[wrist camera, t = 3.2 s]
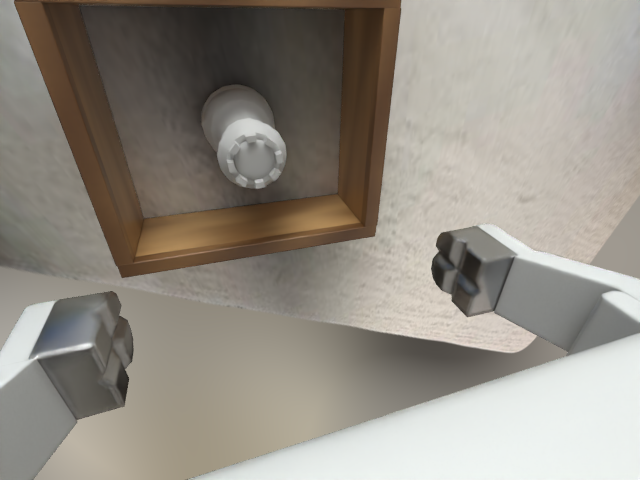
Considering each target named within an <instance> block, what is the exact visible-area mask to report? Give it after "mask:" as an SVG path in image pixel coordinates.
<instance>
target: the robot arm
mask: <svg viewBox="0 0 640 480" xmlns="http://www.w3.org/2000/svg"><path fill="white" fill-rule="evenodd" d="M436 247H437V249H438V250H439V252H438V253H437V254H436V256H435V257H434V258H433V261H432V267H431V270H432V275H433V279H434V281H435V283H436V285H437V286H438V287H439V288H440V289H441V290H442V291H444V292H447V293H449V294H452V302H453V303H454V304H455V305H456V306H457V307H458V308H459V309H460V310H461V311H462V312H463V313H464V314H465V315H466V316H467V317H471V316H475V315H479V314H484V313H488V312H493V311H494V313H496V314H498V315H499V316H501V317H503V318H505V319H507V320H509V321H511V322H513V323H515V324H516V325H518V326H520V327H522V328H524V329H526V330H528V331H530V332H532V333H533V334H535V335H537V336H539V337H541V338H543V339H545V340H547V341H549V342H551V343H552V344H554V345H556V346H558V347H560V348H562V349H564V350H566V351H567V352H568V353H567V355H566V357H563V358H560V359H557V360H554V361H551V362H548V363H544V364H541V365H539V366H535V367H532V368H529V369H527V370H523V371H520V372H517V373H514V374H511V375H508V376H505V377H501V378H498V379H495V380H492V381H489V382H486V383H483V384H480V385H477V386H474V387H471V388H468V389H465V390H461V391H459V392H455V393H453V394H449V395H446V396H443V397H440V398H437V399H434V400H431V401H428V402H425V403H422V404H419V405H415V406H413V407H409V408H406V409H403V410H400V411H397V412H394V413H391V414H388V415H385V416H381V417H378V418H375V419H372V420H369V421H366V422H363V423H360V424H357V425H354V426H351V427H348V428H344V429H341V430H338V431H335V432H332V433H329V434H326V435H323V436H320V437H317V438H314V439H311V440H308V441H304V442H301V443H298V444H295V445H292V446H289V447H286V448H283V449H280V450H277V451H274V452H270V453H268V454H264V455H261V456H258V457H255V458H252V459H249V460H246V461H243V462H240V463H236V464H233V465H231V466H227V467H224V468H221V469H218V470H215V471H212V472H209V473H206V474H203V475H199V476H196V477H193V478H190V479H187V480H640V279H638V278H634V277H631V276H627V275H624V274H620V273H617V272H613V271H610V270H606V269H603V268H599V267H596V266H592V265H589V264H585V263H582V262H578V261H574V260H571V259H567V258H564V257H560V256H557V255H553V254H550V253H546V252H543V251H537V252H535V251H534V250H532V249H531V248H529V247H528V246H526V245H525V244H523V243H522V242H520V241H519V240H517V239H516V238H514V237H513V236H511V235H509V234H508V233H506V232H505V231H503V230H502V229H500V228H499V227H497V226H496V225H494V224H490V223H486V224H481V225H476V226H472V227H469V228H464V229H459V230H453V231H448V232H443V233H441V234H440V235H439V237H438V239H437V243H436ZM120 309H121V303H120V301H119V299H118V296H117V294H116V293H114V292H113V291H110V292H104V293H97V294H91V295H85V296H78V297H72V298H66V299H60V300H54V301H48V302H43V303H37V304H32V305H30V306H28V307H26V308H25V309H24V311H23V313H22V314H21V316H20V318H19V319H18V321H17V323H16V325H15V326H14V328H13V330H12V332H11V333H10V335H9V337H8V338H7V340H6V342H5V344H4V346H3V347H2V349H1V351H0V480H33V479H34V478H35V477H36V475H37V474H38V473H39V471H40V470H41V469H42V468H43V466H44V465H45V464H46V462H47V461H48V460H49V459H50V457H51V456H52V455H53V453H54V452H55V451H56V449H57V448H58V447H59V445H60V444H61V443H62V442H63V440H64V439H65V438H66V436H67V435H68V434H69V432H70V431H71V430H72V429H73V427H74V426H75V425H76V423H77V420H78V419H82V418H85V417H89V416H92V415H95V414H99V413H102V412H106V411H109V410H113V409H116V408H120V407H124V405H125V399H126V394H127V388H128V382H129V377H128V375H127V373H126V371H125V369H126V368H127V366H128V365H129V364H130V363H131V362H132V357H133V337H132V332H131V328H130V325H129V323H128V320H126V319H124V318H123V317H121V316H119V314H120Z"/></svg>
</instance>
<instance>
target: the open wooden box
mask: <svg viewBox="0 0 640 480" xmlns="http://www.w3.org/2000/svg"><path fill="white" fill-rule="evenodd" d="M14 4H15V7H16V9H17V12H18V14H19V17H20V19H21V22H22V25H23V27H24V30H25V32H26V35H27V37H28V40H29V43H30V45H31V48H32V50H33V53H34V56H35V58H36V61H37V63H38V66H39V68H40V71H41V74H42V76H43V79H44V81H45V84H46V86H47V89H48V92H49V94H50V97H51V99H52V102H53V104H54V107H55V110H56V112H57V115H58V117H59V120H60V123H61V125H62V128H63V130H64V133H65V135H66V138H67V141H68V143H69V146H70V148H71V151H72V153H73V156H74V159H75V161H76V164H77V166H78V169H79V172H80V174H81V177H82V179H83V182H84V184H85V187H86V190H87V192H88V195H89V197H90V200H91V202H92V205H93V208H94V210H95V213H96V215H97V218H98V221H99V223H100V226H101V228H102V231H103V233H104V236H105V239H106V241H107V244H108V246H109V249H110V251H111V254H112V257H113V259H114V262H115V264H116V266H117V267H118V269H119V272H120V274H121V277H122V278H125V277H131V276H137V275H144V274H150V273H156V272H162V271H168V270H174V269H180V268H186V267H192V266H198V265H204V264H210V263H216V262H222V261H228V260H234V259H240V258H246V257H252V256H259V255H265V254H271V253H277V252H283V251H289V250H295V249H301V248H307V247H313V246H319V245H325V244H331V243H337V242H343V241H349V240H355V239H361V238H367V237H374V236H375V232H376V225H377V222H378V213H379V204H380V195H381V186H382V177H383V168H384V159H385V150H386V141H387V132H388V123H389V114H390V105H391V96H392V87H393V78H394V69H395V60H396V51H397V42H398V33H399V24H400V15H401V8H400V7H401V0H15V1H14ZM79 5H87V6H148V7H209V8H270V9H331V10H345V20H344V46H343V72H342V98H341V124H340V150H339V176H338V194H334V195H326V196H318V197H310V198H303V199H295V200H287V201H279V202H271V203H263V204H256V205H248V206H240V207H232V208H224V209H216V210H208V211H201V212H193V213H185V214H177V215H169V216H161V217H154V218H146V219H144V217H143V214H142V211H141V208H140V204H139V201H138V198H137V194H136V191H135V188H134V185H133V181H132V178H131V175H130V172H129V168H128V165H127V162H126V158H125V155H124V152H123V149H122V145H121V142H120V139H119V136H118V132H117V129H116V126H115V122H114V119H113V116H112V113H111V109H110V106H109V103H108V100H107V96H106V93H105V90H104V86H103V83H102V80H101V77H100V73H99V70H98V67H97V64H96V60H95V57H94V54H93V50H92V47H91V44H90V41H89V37H88V34H87V31H86V28H85V24H84V21H83V18H82V14H81V11H80V8H79Z"/></svg>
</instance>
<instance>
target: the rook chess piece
mask: <svg viewBox="0 0 640 480" xmlns="http://www.w3.org/2000/svg"><path fill="white" fill-rule="evenodd" d="M201 124H202V127H203V131H204V135H205V137H206V139H207V141H208V142H209V144H210V145H211V146H212V148H213V149H214V150H215V151H216V152H218V153H217V158H218V161H219V165H220V169H221V170H222V172H223V173H224V174H225V176H226V177H227V178H228V180H230V181H232V182H233V183H235V184H237V185H238V186H241V187H247V188H255V189H259V188H264V187H266V185H268V184H269V183H271V182H273V181H276V179H277V178H278V177H279V175H280V174H281V172H282V171H283V169H284V166H285V162H286V158H287V154H286V146H285V143H284V141H283V139H282V138H281V136H280V134H279V133H278V132H277V131H276V130H275V122H274V116H273V113H272V110H271V108H270V107H269V105H268V103H267V101H266V100H265V98H264V97H263V96H262V95H260V94H259V93H258V92H257V91H255V90H254V89H253V88H250V87H246V86H243V85H239V84H236V85H229V86H223V87H221V88H220V89H218V90H217V91H215V92H213V93H212V94H211V95H210V96H209V98H208V99H207V101H206V103H205V104H204V106H203V110H202V117H201Z"/></svg>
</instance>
